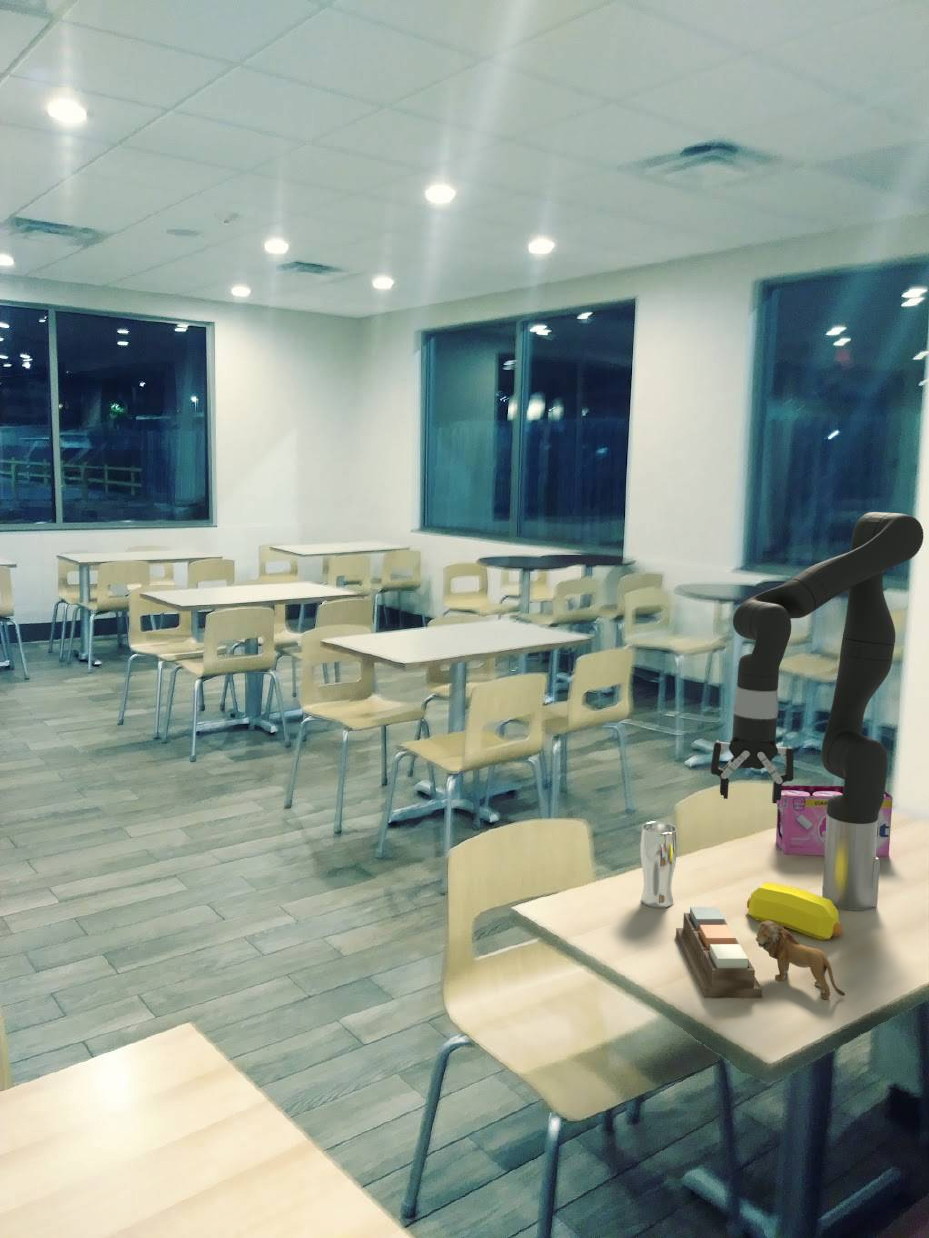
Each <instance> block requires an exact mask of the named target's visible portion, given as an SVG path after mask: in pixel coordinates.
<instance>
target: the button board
mask: <svg viewBox="0 0 929 1238" xmlns="http://www.w3.org/2000/svg"><path fill="white" fill-rule="evenodd" d="M682 921H683V922H682V923H683V927H676V928H675V937H676V939H677V941H678V943H679V945H680V947H681V949H682V952H683V954H684V957H685V958H686V961H687V962H688V965H689V967H690V969H691V971H692V973H693V975H694V977H695V980H696V981H697V982H696V983H697V984H698V986H699V989H700V991H701V993H702V994H703V998H705V999H709V998H710V999H712V998H713V999H714V998H715V999H716V998H719V999H722V998H723V999H724V998H725V999H727V998H731V999H734V998H735V999H736V998H741V999H742V998H746V999H748V998H749V999H752V998H762V997H763V995H762V994H763V988H762V987H761V984H760V982H759V981H758V979H757V977H756V976H755V974H756V973H755V972H756V970H755V968H754V967H753V965H752V963H751V961H750V959H748V968H715V966H714V964H713V962H712V960H711V958H710V947H705V946H704V945H703V943H702V941H701V939H700V937H699V930H700V928H695V927H694V925H693V923H692V921H691V919H690V912H683V919H682ZM724 925H728V926H729V924H728V923H727V921H726V920H725V918H724ZM735 944H740V943H739V941H738V939H737V938H736V941H735Z"/></svg>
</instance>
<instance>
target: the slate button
mask: <svg viewBox="0 0 929 1238" xmlns="http://www.w3.org/2000/svg"><path fill="white" fill-rule="evenodd" d="M689 913H690V919H691V921H692V923H693V925H694V927H695V928H700V925H724V919H725V918H724V916H723V914H722V912H721V911H720V910H719V907H718V906H690V907H689Z"/></svg>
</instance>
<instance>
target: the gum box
mask: <svg viewBox="0 0 929 1238" xmlns="http://www.w3.org/2000/svg"><path fill="white" fill-rule="evenodd" d="M843 789H844V785H807V784H806V785H805V784H803V785H801V784H799V785H797V784H796V785H795V784H793V785H791V784H790V785H787V784H786V785H784V784H782V791H781V799H780V801H778V800H777V804H776V806H777V807H776V808H777V809H776V813H777V814H776V833H775V842H776V844H777V845H778V846H779V848H780V849H781V851H782V852H783V854H784V855H786V856H787V855H788V856H789V855H790V856H791V855H793V856H794V855H795V856H796V855H801V856H824V853H825V834H826V815H827V802H828V800H829V798H831V797H832V796H836V795H843ZM893 800H894V799H893V796H892V795H891V794H890V793H889V792H888V791H886V790H885V795H884V801H883V804H882V806H881V808H880V810H879V814H878V826H877V844H876V857H889V856H890V844H891V842H890V841H891V827H892V826H891V825H892V816H893V815H892V811H893Z"/></svg>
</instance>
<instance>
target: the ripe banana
mask: <svg viewBox="0 0 929 1238" xmlns="http://www.w3.org/2000/svg"><path fill="white" fill-rule="evenodd" d="M746 908H747V909H748V910H747V914H748V915H749V916H750V917H752V918H753V919H754V920H756V921H760V922H764V921H767V920H768V921H772V922H776V923H777V924H779V925H780V926H782V927H783V928H787V929H790V930H792V931H796V932H797V933H801V934H803V935H806V936H809V937H812V938H815V939H816V940H820V941H824V940H829V939H831V938H832V937H839V936H841V933H843V926H842V924H841V923H840V921H839V920H840V919H839V910H838V909H837V907H835V906H834V904H833V903H832V902H831V900H829V899H826V898H823V897H822V895H821V896H820V895H818V894H815V893H812V892H809V891H807V890H804V889H801V888H798V887H793V886H789V885H784V884H779V883H773V882H769V881H766V882H765V883H763V884H762V885H761V886H760V887H758V888H756V889H755V890H753V892H751V895H750V896H749V898H748V900H747V901H746Z"/></svg>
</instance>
